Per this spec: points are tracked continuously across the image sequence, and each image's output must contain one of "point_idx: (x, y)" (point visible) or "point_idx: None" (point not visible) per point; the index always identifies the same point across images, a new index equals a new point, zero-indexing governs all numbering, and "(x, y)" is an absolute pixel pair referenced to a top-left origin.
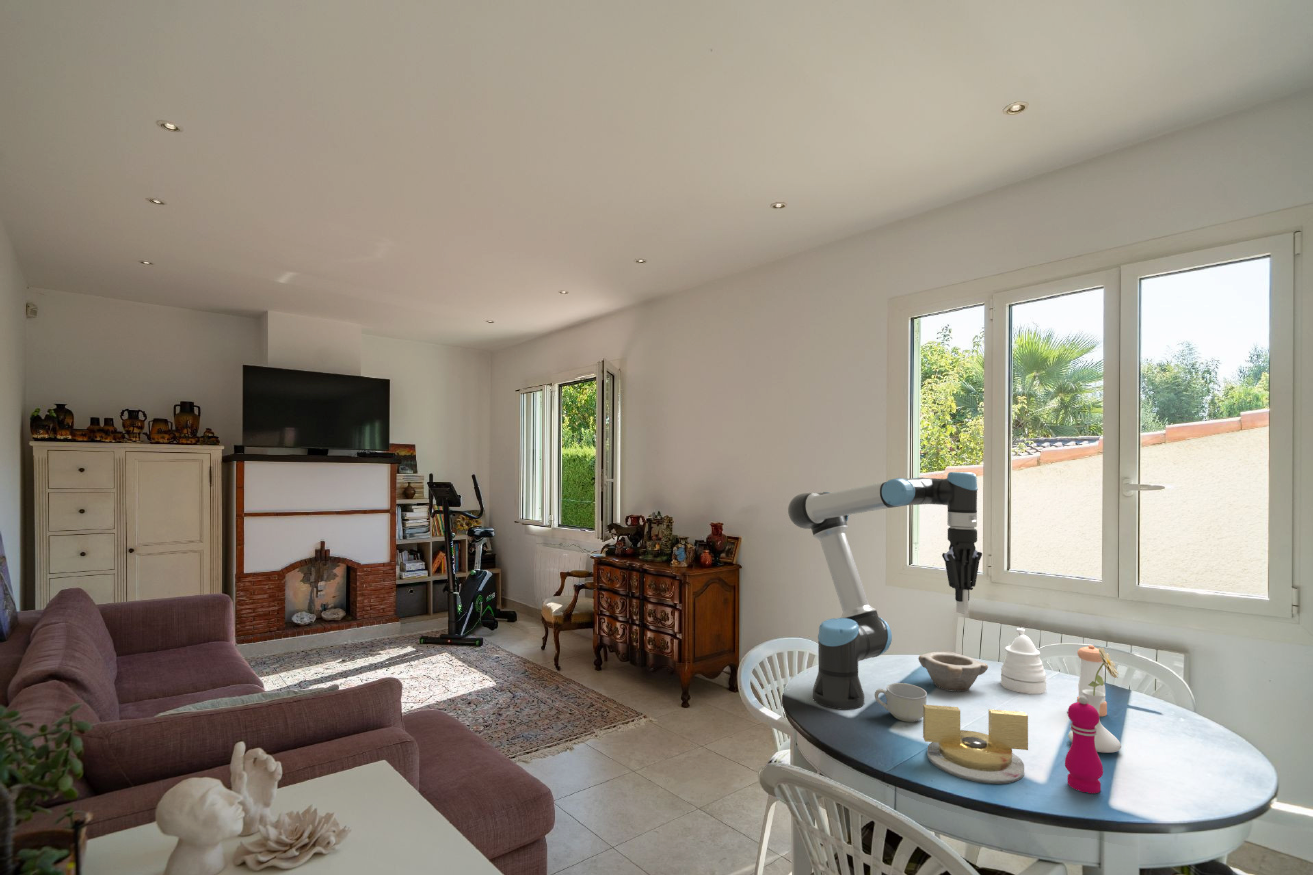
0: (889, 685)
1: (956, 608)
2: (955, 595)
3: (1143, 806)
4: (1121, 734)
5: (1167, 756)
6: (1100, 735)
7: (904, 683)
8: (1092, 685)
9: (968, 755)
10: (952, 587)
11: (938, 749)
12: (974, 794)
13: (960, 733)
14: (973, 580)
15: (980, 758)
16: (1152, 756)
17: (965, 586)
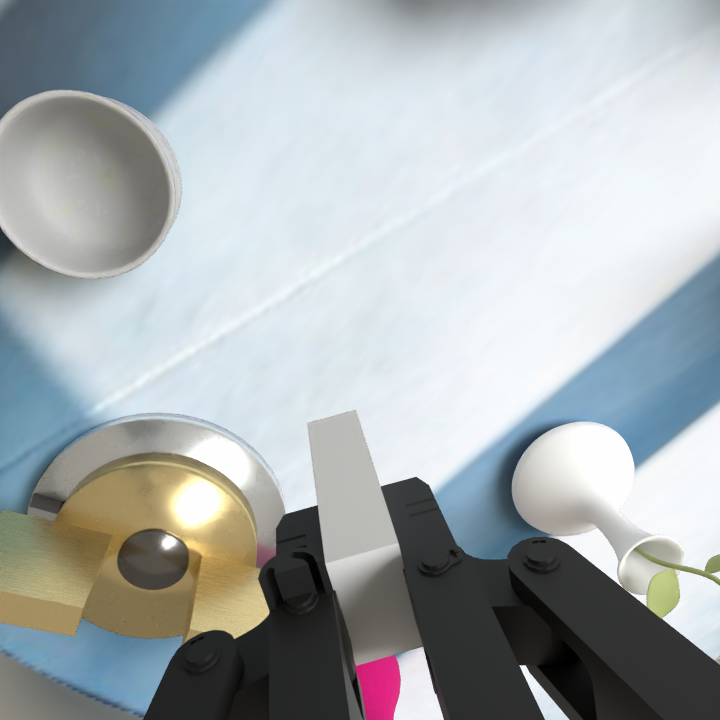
0: (16, 112)
1: (309, 438)
2: (276, 554)
3: (407, 708)
4: (717, 403)
5: (688, 527)
6: (569, 528)
7: (108, 103)
8: (664, 580)
9: (89, 621)
10: (269, 568)
11: (71, 490)
12: (64, 662)
13: (151, 491)
14: (574, 713)
15: (117, 632)
16: (654, 525)
17: (424, 641)
